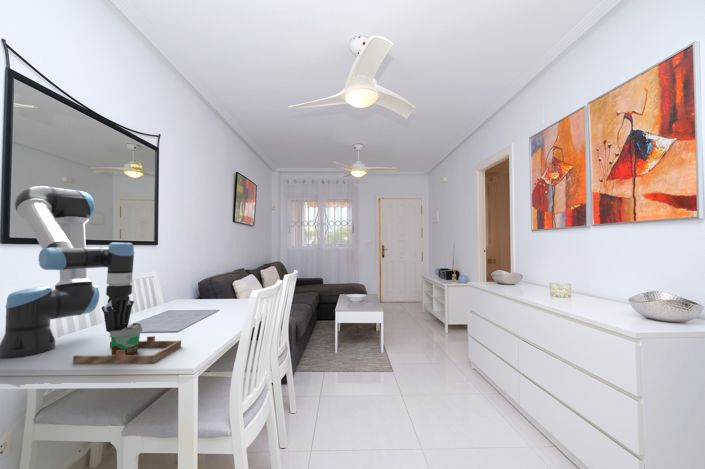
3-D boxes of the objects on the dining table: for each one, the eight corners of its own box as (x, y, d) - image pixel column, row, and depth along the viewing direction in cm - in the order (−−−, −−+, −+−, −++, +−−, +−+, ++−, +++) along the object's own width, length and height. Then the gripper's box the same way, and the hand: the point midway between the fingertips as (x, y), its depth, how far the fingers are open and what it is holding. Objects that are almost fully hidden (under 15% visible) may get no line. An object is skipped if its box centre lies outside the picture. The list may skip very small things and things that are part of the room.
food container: (126, 360, 107) (127, 331, 107) (108, 360, 106) (109, 331, 107) (149, 348, 119) (150, 322, 119) (132, 348, 119) (134, 322, 119)
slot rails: (73, 363, 104) (73, 351, 104) (111, 347, 121) (112, 336, 121) (153, 363, 104) (153, 350, 104) (181, 346, 121) (181, 336, 121)
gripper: (116, 286, 107) (113, 355, 106) (141, 282, 120) (139, 344, 119) (94, 286, 107) (91, 355, 105) (122, 282, 120) (119, 343, 119)
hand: (116, 349), depth 112 cm, fingers closed
